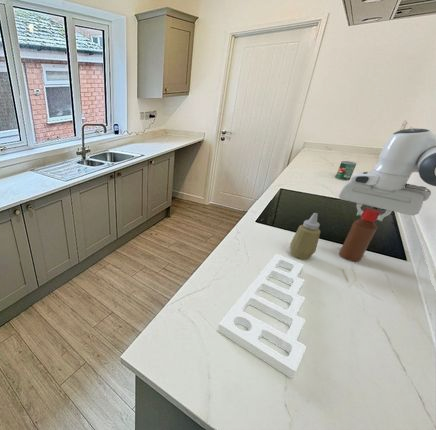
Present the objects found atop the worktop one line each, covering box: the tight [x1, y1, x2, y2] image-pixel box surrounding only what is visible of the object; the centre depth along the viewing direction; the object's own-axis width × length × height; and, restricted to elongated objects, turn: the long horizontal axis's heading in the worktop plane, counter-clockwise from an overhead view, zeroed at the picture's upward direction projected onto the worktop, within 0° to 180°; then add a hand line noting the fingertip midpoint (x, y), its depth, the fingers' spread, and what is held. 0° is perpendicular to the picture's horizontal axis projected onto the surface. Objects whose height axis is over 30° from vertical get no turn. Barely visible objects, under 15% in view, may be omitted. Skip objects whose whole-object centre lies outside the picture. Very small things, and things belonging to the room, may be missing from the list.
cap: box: [360, 207, 381, 223], centre depth 91 cm, size 4×4×4 cm
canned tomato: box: [335, 160, 357, 181], centre depth 175 cm, size 8×8×11 cm
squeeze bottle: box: [289, 212, 321, 261], centre depth 96 cm, size 8×8×18 cm
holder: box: [217, 253, 307, 379], centre depth 78 cm, size 45×18×3 cm, turn 134°
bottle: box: [338, 217, 378, 263], centre depth 95 cm, size 6×6×19 cm
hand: (368, 217), depth 92 cm, fingers closed on cap, 4 cm apart
